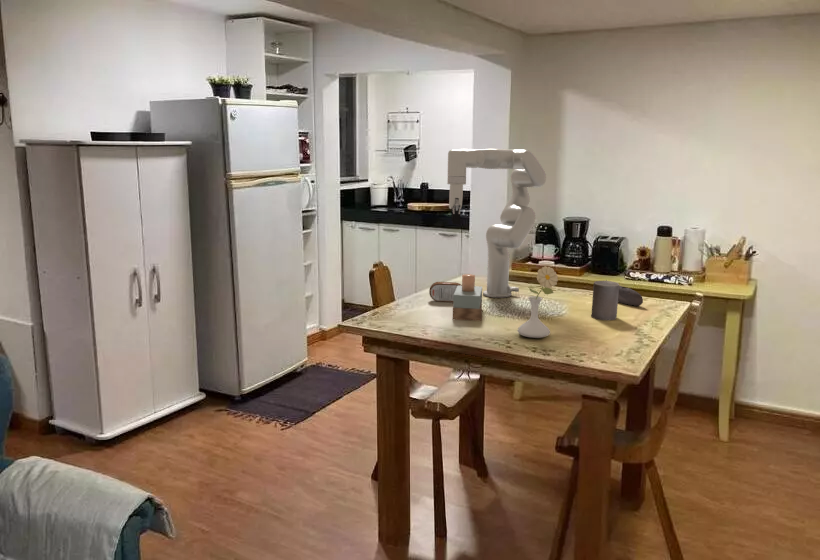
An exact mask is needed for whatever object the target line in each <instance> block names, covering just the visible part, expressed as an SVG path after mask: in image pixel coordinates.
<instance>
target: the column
mask: <svg viewBox="0 0 820 560" xmlns="http://www.w3.org/2000/svg"><path fill="white" fill-rule="evenodd" d="M461 276H462V277H461V285H462V291H466V292H472V291H474V290H475V286H476V283H475V281H476V275H475V274H473V273H472V274H471V273H464V274H462V275H461Z"/></svg>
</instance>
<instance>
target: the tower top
mask: <svg viewBox="0 0 820 560" xmlns="http://www.w3.org/2000/svg"><path fill="white" fill-rule="evenodd" d="M482 299H483V285H482V286H481V285H480V286H479V285H475V290H474V291H472V292H466V291H462V286H459V285H458V286H457V288H456V291H455V293H454V300H453V302H452V303H453V306H452V309H453V308H471V309H480V305H481V300H482Z"/></svg>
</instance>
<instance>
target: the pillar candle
mask: <svg viewBox="0 0 820 560" xmlns="http://www.w3.org/2000/svg"><path fill="white" fill-rule="evenodd" d="M619 286H620V284H619V282H616V281H610V280H607V279H605V280H596V281H595V280H594V282H593V288H592V300H591V301H592V302H591V304H592V305H591V314H590V316H591V318H593V319H595V320H600V321H615V320H617V315H618V307H619V306H618V304H619V302H618V294H619Z"/></svg>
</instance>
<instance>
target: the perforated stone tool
mask: <svg viewBox="0 0 820 560" xmlns="http://www.w3.org/2000/svg"><path fill="white" fill-rule="evenodd" d="M643 299H644V298H643V296H642V295H641V294H640V293H639V292H638V291H636V290H633V289H632V288H628V287H625V286H622V285H619V294H618V303H619V304H620V303H621V304H624V305H627V304H628V305H627V306H632V305H634V306H633V307H640V306H641V305H642V304H643V303H644V301H643Z"/></svg>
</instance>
